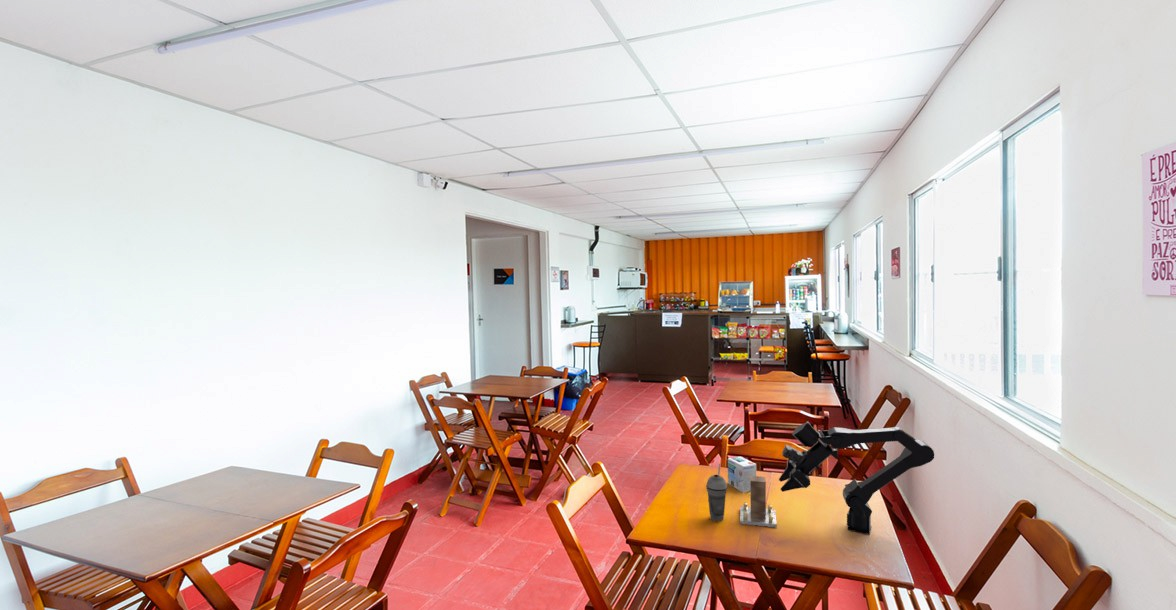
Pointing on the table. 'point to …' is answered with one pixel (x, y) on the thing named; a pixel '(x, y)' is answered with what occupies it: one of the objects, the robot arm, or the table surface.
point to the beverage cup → (716, 496)
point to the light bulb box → (740, 473)
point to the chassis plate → (747, 519)
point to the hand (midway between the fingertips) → (780, 485)
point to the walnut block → (758, 497)
